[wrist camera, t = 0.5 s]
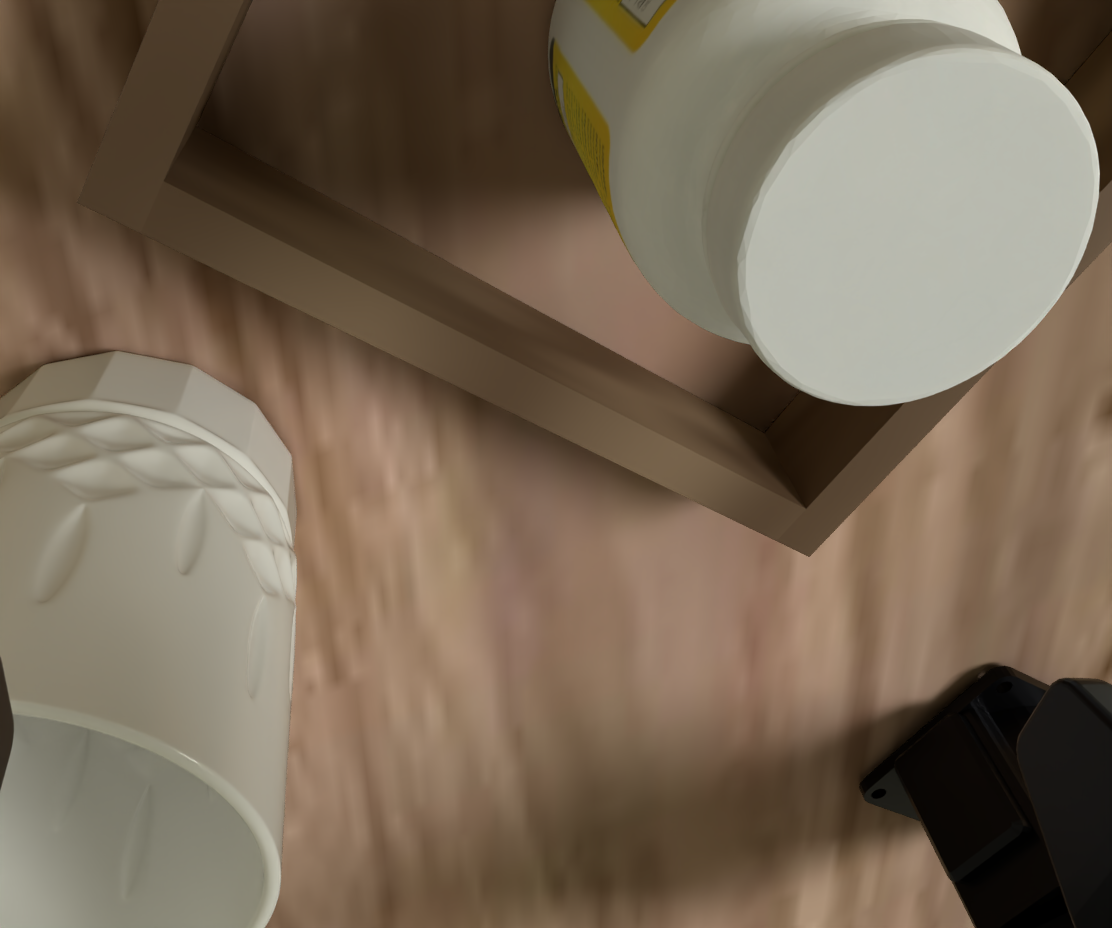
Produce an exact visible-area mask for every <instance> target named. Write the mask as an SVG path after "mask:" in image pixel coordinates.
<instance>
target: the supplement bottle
mask: <svg viewBox="0 0 1112 928" xmlns="http://www.w3.org/2000/svg"><path fill="white" fill-rule="evenodd" d="M548 65H549V75H550V82H551V87H552V91H553V95H554V99H555V103H556V106H557V108H558V111H559V114H560V117H561V120H562V122H563V124H564V126H565V128H566V130H567V132H568V134H569V137H570V139H571V140H572V142H573V144H574V146H575V148H576V150H577V152H578V154H579V156H580V158H581V160H582V162H583V164H584V166H585V168H586V170H587V172H588V174H589V176H590V178H591V179H592V181H593V183H594V185H595V187H596V189H597V191H598V194H599V196H600V198H601V200H602V202H603V204H604V206H605V207H606V209H607V211H608V213H609V215H610V217H611V219H612V221H613V223H614V225H615V227H616V229H617V231H618V233H619V235H620V237H621V239H622V241H623V243H624V245H625V247H626V248H627V250H628V252H629V254H630V256H631V257H632V259H633V261H634V262H635V264H636V265H637V266H638V268H639V269H640V271H641V273H642V274H643V276H644V277H645V278H646V280H647V281H648V282H649V283H650V285H651V286H652V287H653V289H654V290H655V291H656V292H657V293H658V294H659V295H660V296H661V297H662V298H663V299H664V300H665V301H666V302H667V303H668V304H669V305H670V306H671V307H672V308H673V309H674V310H676V311H677V312H678V313H679V314H681V315H682V316H684V317H685V318H687V319H688V320H690V321H691V322H693V323H695V324H696V325H698V326H700V327H701V328H703V329H705V330H707V331H709V332H711V333H714V334H716V335H718V336H721V337H724V338H727V339H730V340H733V341H736V342H740V343H745V344H750V345H751V347H752V348H753V350H754V351H755V353H756V354H757V355H758V356H759V357H760V359H761V360H762V361H763V362H764V363H765V364H766V365H767V366H768V367H769V368H770V369H771V370H772V371H773V372H774V373H776V374H777V375H778V376H779V377H780V378H781V379H783V380H784V381H785V382H787V383H788V384H790V385H791V386H793V387H794V388H797V389H799V390H801V391H803V392H805V393H807V394H810V395H812V396H814V397H816V398H819V399H823V400H826V401H830V402H834V403H841V404H847V405H853V406H884V405H892V404H898V403H904V402H910V401H914V400H917V399H921V398H925V397H928V396H931V395H934V394H936V393H939V392H941V391H944V390H947V389H949V388H951V387H953V386H955V385H958V384H960V383H962V382H964V381H966V380H968V379H970V378H971V377H973V376H975V375H977V374H978V373H980V372H982V371H983V370H985V369H986V368H988V367H989V366H991V365H992V364H993V363H995V362H996V361H998V360H999V359H1001V358H1002V357H1003V356H1005V355H1006V354H1007V353H1008V352H1009V351H1011V350H1012V349H1013V348H1014V347H1015V346H1016V345H1018V344H1019V343H1020V342H1021V341H1022V340H1023V339H1024V338H1025V337H1026V336H1027V335H1028V334H1029V333H1030V332H1031V331H1032V330H1033V329H1034V328H1035V327H1036V326H1037V325H1038V324H1039V323H1040V322H1041V320H1042V319H1043V318H1044V317H1045V315H1046V314H1047V313H1048V312H1049V311H1050V309H1051V308H1052V307H1053V306H1054V304H1055V303H1056V302H1057V300H1058V299H1059V297H1060V296H1061V294H1062V293H1063V291H1064V290H1065V288H1066V287H1067V285H1068V284H1069V282H1070V280H1071V279H1072V277H1073V275H1074V273H1075V271H1076V269H1077V267H1078V265H1079V263H1080V261H1081V258H1082V256H1083V254H1084V252H1085V249H1086V246H1087V243H1088V240H1089V237H1090V235H1091V232H1092V228H1093V224H1094V219H1095V214H1096V209H1097V204H1098V199H1099V179H1100V170H1099V161H1098V152H1097V148H1096V143H1095V140H1094V137H1093V134H1092V131H1091V128H1090V124H1089V122H1088V120H1087V119H1086V117H1085V115H1084V113H1083V111H1082V109H1081V107H1080V105H1079V104H1078V102H1077V101H1076V99H1075V98H1074V97H1073V95H1072V94H1071V93H1070V91H1069V90H1068V89H1067V88H1066V87H1065V86H1064V85H1063V84H1062V83H1061V82H1060V81H1059V80H1058V79H1057V78H1056V77H1055V76H1054V75H1053V74H1051V73H1050V72H1048V71H1047V70H1046V69H1044V68H1043V67H1041V66H1040V65H1039V64H1037V63H1035V62H1033V61H1031V60H1029V59H1027V58H1026V57H1024V56H1022V55H1021V52H1020V48H1019V45H1018V42H1017V39H1016V36H1015V33H1014V31H1013V29H1012V27H1011V24H1010V22H1009V20H1008V18H1007V15H1006V13H1005V11H1004V9H1003V7H1002V6H1001V5H1000V3H999V2H998V0H556V2H555V5H554V9H553V13H552V18H551V23H550V30H549V41H548Z"/></svg>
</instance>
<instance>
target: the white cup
mask: <svg viewBox="0 0 1112 928" xmlns="http://www.w3.org/2000/svg"><path fill="white" fill-rule="evenodd" d="M296 516H297V507H296V496H295V485H294V474H293V463H292V456H291V454H290V452H289V451H288V449H287V448H286V446H285V445H284V444H283V442H282V441H281V439H280V438H279V436H278V435H277V434H276V432H275V431H274V429H273V428H272V426H271V425H270V424H269V422H268V421H267V419H266V418H265V416H264V415H263V414H262V412H261V411H260V409H259V408H258V406H257V405H256V404H255V403H254V402H252V401H251V400H249V399H247V398H246V397H244V396H243V395H241V394H239V393H238V392H236V391H234V390H233V389H231V388H230V387H228V386H226V385H225V384H223V383H221V382H220V381H218V380H217V379H215V378H213V377H212V376H210V375H208V374H207V373H205V372H204V371H202V370H200V369H199V368H197V367H195V366H193V365H189V364H184V363H179V362H174V361H169V360H163V359H158V358H153V357H148V356H143V355H137V354H132V353H127V352H122V351H113V352H107V353H102V354H97V355H92V356H87V357H81V358H76V359H71V360H66V361H60V362H55V363H50V364H45V365H43V366H41V367H40V368H39V369H38V370H36V371H35V372H34V373H32V374H31V375H30V376H29V377H27V378H26V379H25V380H23V381H22V382H21V383H20V384H18V385H17V386H16V387H14V388H13V389H12V390H11V391H9V392H8V393H7V394H5V395H4V396H3V397H2V398H0V657H1V660H2V664H3V669H4V674H5V679H6V684H7V688H8V693H9V698H10V703H11V708H12V713H13V718H14V738H13V744H12V749H11V754H10V757H9V761H8V765H7V768H6V772H5V776H4V779H3V783H2V787H1V790H0V928H265V927H266V925H267V923H268V922H269V920H270V918H271V916H272V914H273V912H274V909H275V907H276V904H277V901H278V897H279V892H280V886H281V872H282V853H283V835H284V817H285V800H286V783H287V767H288V751H289V736H290V720H291V706H292V690H293V675H294V659H295V636H296V602H295V600H296V584H297V558H296V554H295V551H294V541H295V529H296Z"/></svg>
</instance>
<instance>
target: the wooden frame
mask: <svg viewBox="0 0 1112 928" xmlns="http://www.w3.org/2000/svg"><path fill="white" fill-rule="evenodd" d="M251 2H252V0H159V1H158V4H157V6H156V8H155V11H154V13H153V16H152V18H151V21H150V23H149V26H148V28H147V31H146V33H145V36H144V38H143V41H142V43H141V46H140V48H139V51H138V53H137V56H136V58H135V60H134V63H133V65H132V68H131V70H130V73H129V75H128V78H127V80H126V83H125V85H124V88H123V90H122V93H121V95H120V98H119V100H118V103H117V105H116V108H115V110H114V112H113V115H112V117H111V120H110V122H109V125H108V127H107V130H106V132H105V135H104V137H103V140H102V142H101V145H100V147H99V150H98V152H97V155H96V157H95V160H94V162H93V164H92V167H91V169H90V172H89V174H88V177H87V179H86V182H85V184H84V187H83V189H82V192H81V194H80V197H79V199H78V202H77V203H79V204H81V205H83V206H85V207H87V208H89V209H91V210H93V211H95V212H97V213H99V214H101V215H104V216H106V217H108V218H110V219H112V220H114V221H116V222H118V223H120V224H122V225H124V226H126V227H128V228H130V229H132V230H135V231H137V232H139V233H141V234H143V235H145V236H147V237H149V238H151V239H153V240H155V241H157V242H159V243H161V244H163V245H166V246H168V247H170V248H172V249H174V250H176V251H178V252H180V253H182V254H184V255H186V256H188V257H190V258H192V259H194V260H197V261H199V262H201V263H203V264H205V265H207V266H209V267H211V268H213V269H215V270H217V271H219V272H221V273H223V274H225V275H228V276H230V277H232V278H234V279H236V280H238V281H240V282H242V283H244V284H246V285H248V286H250V287H252V288H254V289H256V290H259V291H261V292H263V293H265V294H267V295H269V296H271V297H273V298H275V299H277V300H279V301H281V302H283V303H285V304H287V305H290V306H292V307H294V308H296V309H298V310H300V311H302V312H304V313H306V314H308V315H310V316H312V317H314V318H316V319H319V320H321V321H323V322H325V323H327V324H329V325H331V326H333V327H335V328H337V329H339V330H341V331H343V332H345V333H347V334H350V335H352V336H354V337H356V338H358V339H360V340H362V341H364V342H366V343H368V344H370V345H372V346H374V347H376V348H378V349H381V350H383V351H385V352H387V353H389V354H391V355H393V356H395V357H397V358H399V359H401V360H403V361H405V362H407V363H409V364H412V365H414V366H416V367H418V368H420V369H422V370H424V371H426V372H428V373H430V374H432V375H434V376H436V377H438V378H440V379H443V380H445V381H447V382H449V383H451V384H453V385H455V386H457V387H459V388H461V389H463V390H465V391H467V392H469V393H471V394H474V395H476V396H478V397H480V398H482V399H484V400H486V401H488V402H490V403H492V404H494V405H496V406H498V407H500V408H502V409H505V410H507V411H509V412H511V413H513V414H515V415H517V416H519V417H521V418H523V419H525V420H527V421H529V422H531V423H533V424H536V425H538V426H540V427H542V428H544V429H546V430H548V431H550V432H552V433H554V434H556V435H558V436H560V437H562V438H564V439H567V440H569V441H571V442H573V443H575V444H577V445H579V446H581V447H583V448H585V449H587V450H589V451H591V452H593V453H595V454H598V455H600V456H602V457H604V458H606V459H608V460H610V461H612V462H614V463H616V464H618V465H620V466H622V467H624V468H626V469H629V470H631V471H633V472H635V473H637V474H639V475H641V476H643V477H645V478H647V479H649V480H651V481H653V482H655V483H657V484H660V485H662V486H664V487H666V488H668V489H670V490H672V491H674V492H676V493H678V494H680V495H682V496H684V497H686V498H688V499H691V500H693V501H695V502H697V503H699V504H701V505H703V506H705V507H707V508H709V509H711V510H713V511H715V512H717V513H719V514H722V515H724V516H726V517H728V518H730V519H732V520H734V521H736V522H738V523H740V524H742V525H744V526H746V527H748V528H750V529H753V530H755V531H757V532H759V533H761V534H763V535H765V536H767V537H769V538H771V539H773V540H775V541H777V542H779V543H781V544H784V545H786V546H788V547H790V548H792V549H794V550H796V551H798V552H800V553H802V554H804V555H806V556H808V557H810V556H811V555H812V554H813V553H814V552H815V551H816V549H817V548H818V547H819V546H820V545H821V544H822V543H823V542H824V541H825V540H826V539H827V538H828V537H829V536H830V535H831V534H832V533H833V532H834V531H835V530H836V529H837V528H838V527H839V525H840V524H841V523H842V522H843V521H844V520H845V519H846V518H847V517H848V516H849V515H850V514H851V513H852V512H853V511H854V510H855V509H856V508H857V507H858V506H859V505H860V504H861V503H862V502H863V500H864V499H865V498H866V497H867V496H868V495H869V494H870V493H871V492H872V491H873V490H874V489H875V488H876V487H877V486H878V485H879V484H880V483H881V482H882V481H883V480H884V479H885V478H886V477H887V475H888V474H889V473H890V472H891V471H892V470H893V469H894V468H895V467H896V466H897V465H898V464H899V463H900V462H901V461H902V460H903V459H904V458H905V457H906V456H907V455H908V454H909V453H910V451H911V450H912V449H913V448H914V447H915V446H916V445H917V444H918V443H919V442H920V441H921V440H922V439H923V438H924V437H925V436H926V435H927V434H928V433H929V432H930V431H931V430H932V429H933V428H934V426H935V425H936V424H937V423H938V422H939V421H940V420H941V419H942V418H943V417H944V416H945V415H946V414H947V413H948V412H949V411H950V410H951V409H952V408H953V407H954V406H955V405H956V404H957V403H958V401H959V400H960V399H961V398H962V397H963V396H964V395H965V394H966V393H967V392H968V391H969V390H970V389H971V388H972V387H973V386H974V385H975V384H976V383H977V382H978V381H979V380H980V379H981V377H982V376H983V375H984V374H985V373H986V372H987V371H988V370H989V369H990V368H991V367H992V366H993V365H994V364H995V363H996V362H997V361H996V362H995V363H993V364H992V365H991V366H989V367H988V368H986V369H985V370H983V371H982V372H980V373H978V374H977V375H975V376H973V377H971V378H970V379H968V380H966V381H964V382H962V383H960V384H958V385H955V386H953V387H951V388H949V389H947V390H944V391H941V392H939V393H936V394H934V395H931V396H928V397H925V398H921V399H917V400H914V401H910V402H904V403H898V404H892V405H884V406H853V405H847V404H841V403H834V402H830V401H826V400H823V399H819V398H816V397H814V396H812V395H810V394H807V393H805V392H803V391H800V393H799V394H798V395H797V396H796V397H795V398H794V400H793V401H792V402H791V403H790V404H789V405H788V406H787V408H786V409H785V410H784V411H783V412H782V413H781V415H780V416H779V417H778V418H777V419H776V420H775V422H774V423H773V424H772V425H771V426H770V427H769V429H768V430H767V431H766V432H765V433H763V432H761V431H759V430H757V429H756V428H754V427H752V426H750V425H748V424H746V423H744V422H743V421H741V420H739V419H737V418H735V417H733V416H732V415H730V414H728V413H726V412H724V411H722V410H720V409H719V408H717V407H715V406H713V405H711V404H709V403H707V402H706V401H704V400H702V399H700V398H698V397H696V396H695V395H693V394H691V393H689V392H687V391H685V390H683V389H682V388H680V387H678V386H676V385H674V384H672V383H670V382H669V381H667V380H665V379H663V378H661V377H659V376H658V375H656V374H654V373H652V372H650V371H648V370H646V369H645V368H643V367H641V366H639V365H637V364H635V363H633V362H632V361H630V360H628V359H626V358H624V357H622V356H621V355H619V354H617V353H615V352H613V351H611V350H609V349H608V348H606V347H604V346H602V345H600V344H598V343H596V342H595V341H593V340H591V339H589V338H587V337H585V336H584V335H582V334H580V333H578V332H576V331H574V330H572V329H571V328H569V327H567V326H565V325H563V324H561V323H559V322H558V321H556V320H554V319H552V318H550V317H548V316H547V315H545V314H543V313H541V312H539V311H537V310H535V309H534V308H532V307H530V306H528V305H526V304H524V303H522V302H521V301H519V300H517V299H515V298H513V297H511V296H510V295H508V294H506V293H504V292H502V291H500V290H498V289H497V288H495V287H493V286H491V285H489V284H487V283H485V282H484V281H482V280H480V279H478V278H476V277H474V276H473V275H471V274H469V273H467V272H465V271H463V270H461V269H460V268H458V267H456V266H454V265H452V264H450V263H448V262H447V261H445V260H443V259H441V258H439V257H437V256H436V255H434V254H432V253H430V252H428V251H426V250H424V249H423V248H421V247H419V246H417V245H415V244H413V243H411V242H410V241H408V240H406V239H404V238H402V237H400V236H399V235H397V234H395V233H393V232H391V231H389V230H387V229H386V228H384V227H382V226H380V225H378V224H376V223H374V222H373V221H371V220H369V219H367V218H365V217H363V216H362V215H360V214H358V213H356V212H354V211H352V210H350V209H349V208H347V207H345V206H343V205H341V204H339V203H337V202H336V201H334V200H332V199H330V198H328V197H326V196H325V195H323V194H321V193H319V192H317V191H315V190H313V189H312V188H310V187H308V186H306V185H304V184H302V183H300V182H299V181H297V180H295V179H293V178H291V177H289V176H288V175H286V174H284V173H282V172H280V171H278V170H276V169H275V168H273V167H271V166H269V165H267V164H265V163H263V162H262V161H260V160H258V159H256V158H254V157H252V156H251V155H249V154H247V153H245V152H243V151H241V150H239V149H238V148H236V147H234V146H232V145H230V144H228V143H226V142H225V141H223V140H221V139H219V138H217V137H215V136H214V135H212V134H210V133H208V132H206V131H204V130H202V129H201V128H199V127H197V126H196V125H197V123H198V121H199V118H200V116H201V114H202V112H203V109H204V107H205V105H206V103H207V100H208V98H209V96H210V94H211V92H212V89H213V87H214V85H215V83H216V80H217V78H218V76H219V74H220V71H221V69H222V67H223V65H224V62H225V60H226V58H227V56H228V54H229V51H230V49H231V47H232V45H233V42H234V40H235V38H236V36H237V33H238V31H239V29H240V27H241V25H242V22H243V20H244V18H245V16H246V13H247V11H248V9H249V7H250V4H251ZM1065 87H1066V88H1067V89H1068V90H1069V91H1070V93H1071V94H1072V95H1073V97H1074V98H1075V99H1076V101H1077V102H1078V104H1079V105H1080V107H1081V109H1082V111H1083V113H1084V115H1085V117H1086V119H1087V120H1088V122H1089V124H1090V128H1091V131H1092V134H1093V137H1094V140H1095V143H1096V148H1097V152H1098V161H1099V170H1100V179H1099V199H1098V204H1097V209H1096V214H1095V219H1094V224H1093V228H1092V232H1091V235H1090V237H1089V240H1088V243H1087V246H1086V249H1085V252H1084V254H1083V256H1082V258H1081V261H1080V263H1079V265H1078V267H1077V269H1076V271H1075V273H1074V275H1073V277H1072V279H1071V280H1070V282H1069V284H1068V285H1067V287H1066V288H1065V290H1066V289H1067V288H1068V287H1069V286H1070V285H1071V284H1072V283H1073V282H1074V281H1075V280H1076V278H1077V277H1078V276H1079V275H1080V274H1081V273H1082V272H1083V271H1084V270H1085V269H1086V268H1087V267H1088V266H1089V265H1090V264H1091V263H1092V262H1093V261H1094V260H1095V259H1096V258H1097V257H1098V256H1099V254H1100V253H1101V252H1102V251H1103V250H1104V249H1105V248H1106V247H1107V246H1108V245H1109V244H1110V243H1111V242H1112V31H1111V32H1110V33H1109V35H1108V36H1107V37H1106V38H1105V39H1104V40H1103V42H1102V43H1101V44H1100V45H1099V46H1098V47H1097V48H1096V50H1095V51H1094V52H1093V53H1092V54H1091V55H1090V57H1089V58H1088V59H1087V60H1086V61H1085V62H1084V64H1083V65H1082V66H1081V67H1080V68H1079V69H1078V70H1077V72H1076V73H1075V74H1074V75H1073V76H1072V77H1071V79H1070V80H1069V81H1068V82H1067V83H1066V84H1065ZM1065 290H1064V291H1065ZM1064 291H1063V292H1064Z"/></svg>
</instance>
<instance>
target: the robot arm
mask: <svg viewBox="0 0 1112 928" xmlns="http://www.w3.org/2000/svg"><path fill="white" fill-rule="evenodd" d="M13 738H14V718H13V713H12V708H11V703H10V698H9V693H8V688H7V684H6V679H5V674H4V669H3V664H2V660H1V657H0V790H1V787H2V783H3V779H4V776H5V772H6V768H7V765H8V761H9V757H10V754H11V749H12V744H13ZM859 788H860V790H861V793H862V795H863V797H864V799H865V801H867V802H868V803H871V804H874V805H876V806H879V807H882V808H885V809H888V810H890V811H893V812H896V813H899V814H902V815H904V816H907V817H910V818H913V819H916V820H919V821H920V822H921V824H922V826H923V828H924V830H925V832H926V834H927V836H928V838H929V840H930V842H931V844H932V846H933V848H934V850H935V852H936V854H937V856H938V858H939V860H940V862H941V864H942V866H943V868H944V870H945V872H946V874H947V876H948V877H949V879H950V880H951V881H952V883H953V885H954V887H955V889H956V891H957V893H958V895H959V897H960V899H961V901H962V903H963V905H964V907H965V909H966V911H967V913H968V915H969V917H970V919H971V921H972V923H973V925H974V927H975V928H1112V685H1111V684H1109V683H1108V682H1105V681H1103V680H1099V679H1089V678H1062V679H1058V680H1057V681H1055V682H1053V683H1052V684H1051V685H1050V686H1049V685H1047V684H1045V683H1042V682H1040V681H1038V680H1036V679H1034V678H1032V677H1030V676H1028V675H1026V674H1024V673H1021V672H1019V671H1017V670H1015V669H1013V668H1011V667H1007V666H1000V667H996V668H994V669H992V670H990V671H989V672H987V673H986V674H985V675H984V676H983V677H981V678H980V679H979V680H978V681H977V682H976V683H974V684H973V685H972V686H971V687H970V688H969V689H967V690H966V691H965V692H964V693H963V694H962V695H961V696H959V697H958V698H957V699H956V700H955V701H954V702H952V703H951V704H950V705H949V706H948V707H947V708H945V709H944V710H943V711H942V712H941V713H940V714H939V715H937V716H936V717H935V718H934V719H933V720H932V721H930V722H929V723H928V724H927V725H926V726H925V727H924V728H922V729H921V730H920V731H919V732H918V733H917V734H915V735H914V736H913V737H912V738H911V739H910V740H908V741H907V742H906V743H905V744H904V745H903V746H902V747H900V748H899V749H898V750H897V751H896V752H895V753H893V754H892V755H891V756H890V757H889V758H888V759H886V760H885V761H884V762H883V763H882V764H881V765H880V766H878V767H877V768H876V769H875V770H874V771H873V772H871V773H870V774H869V775H868V776H867V777H866V778H864V779H863V780H862V782H861V783H860V786H859Z"/></svg>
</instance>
